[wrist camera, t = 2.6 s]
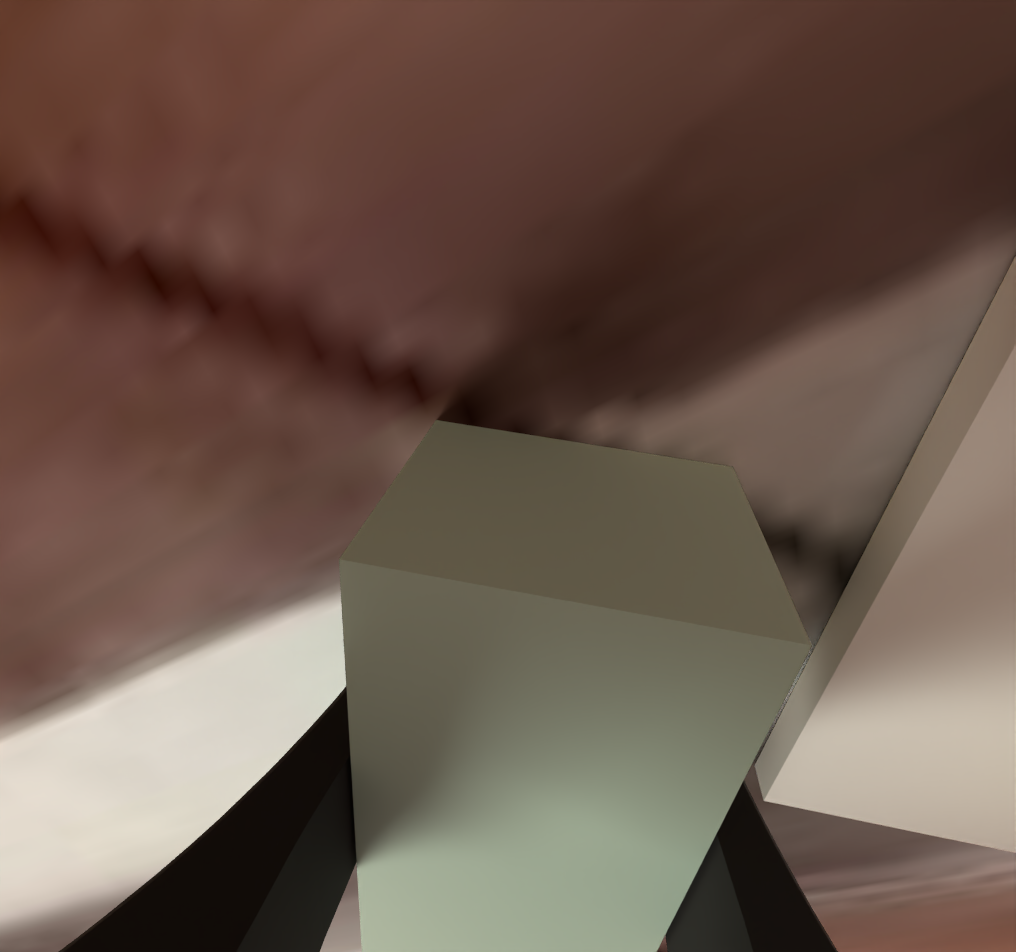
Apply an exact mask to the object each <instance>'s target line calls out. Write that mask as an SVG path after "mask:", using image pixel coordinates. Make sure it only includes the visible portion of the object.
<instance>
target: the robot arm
mask: <svg viewBox="0 0 1016 952" xmlns="http://www.w3.org/2000/svg"><path fill="white" fill-rule="evenodd" d="M356 862H357V858H356V841H355V824H354V807H353V790H352V773H351V756H350V739H349V721H348V704H347V687H345V688H344V690H343V691H342V692H341V693H340V694H339V696H338V697H337V698H336V699H335V700H334V701H333V703H332V704H331V705H330V706H329V707H328V708H327V709H326V711H325V712H324V713H323V714H322V715H321V716H320V717H319V718H318V719H317V721H316V722H315V723H314V724H313V725H312V726H311V727H310V728H309V729H308V731H307V732H306V733H305V734H304V735H303V736H302V737H301V738H300V739H299V740H298V741H297V742H296V743H295V744H294V745H293V746H292V747H291V748H290V750H289V751H288V752H287V753H286V754H285V755H284V756H283V757H282V758H281V759H280V760H279V761H278V762H277V763H276V764H275V765H274V766H273V767H272V768H271V769H270V770H269V771H268V772H267V773H266V774H265V775H264V776H263V777H262V778H261V779H260V780H259V781H258V782H257V783H256V784H255V785H254V786H253V787H252V788H251V789H250V790H249V791H248V792H247V793H246V794H245V795H244V796H243V797H242V798H241V799H240V800H239V801H237V802H236V803H235V804H234V805H233V806H232V807H231V808H230V809H229V810H228V811H227V812H226V813H225V814H224V815H223V816H222V817H221V818H220V819H219V820H218V821H216V822H215V823H214V824H213V825H212V826H211V827H210V828H209V829H208V830H207V831H205V832H204V833H203V834H202V835H201V836H200V837H199V838H198V839H197V840H195V841H194V842H193V843H192V844H191V845H190V846H189V847H188V848H186V849H185V850H184V851H183V852H182V853H181V854H179V855H178V856H177V857H176V858H175V859H174V860H172V861H171V862H170V863H169V864H168V865H167V866H166V867H164V868H163V869H162V870H161V871H160V872H159V873H157V874H156V875H155V876H154V877H153V878H151V879H150V880H149V881H148V882H146V883H145V884H144V885H143V886H141V887H140V888H139V889H138V890H137V891H135V892H134V893H133V894H132V895H130V896H129V897H128V898H127V899H125V900H124V901H123V902H122V903H121V904H119V905H118V906H117V907H116V908H114V909H113V910H112V911H111V912H109V913H108V914H107V915H106V916H104V917H103V918H102V919H101V920H99V921H98V922H97V923H96V924H94V925H93V926H92V927H90V928H89V929H88V930H87V931H85V932H84V933H83V934H81V935H80V936H79V937H78V938H76V939H75V940H74V941H72V942H71V943H70V944H68V945H67V946H66V947H64V948H63V949H62V950H60V951H59V952H320V949H321V946H322V944H323V941H324V939H325V936H326V934H327V931H328V929H329V927H330V924H331V922H332V919H333V917H334V915H335V912H336V910H337V907H338V905H339V903H340V900H341V898H342V895H343V893H344V891H345V888H346V886H347V883H348V881H349V879H350V876H351V874H352V871H353V869H354V867H355V864H356ZM666 942H667V951H668V952H838V951H837V950H836V948H835V946H834V945H833V943H832V941H831V940H830V938H829V936H828V935H827V933H826V931H825V930H824V928H823V926H822V925H821V923H820V921H819V920H818V918H817V916H816V914H815V913H814V911H813V909H812V907H811V906H810V904H809V902H808V900H807V899H806V897H805V895H804V894H803V892H802V890H801V888H800V886H799V885H798V883H797V881H796V879H795V877H794V875H793V874H792V872H791V870H790V868H789V866H788V864H787V863H786V861H785V859H784V857H783V855H782V854H781V852H780V850H779V848H778V846H777V844H776V843H775V841H774V839H773V837H772V835H771V833H770V831H769V829H768V827H767V826H766V824H765V822H764V820H763V818H762V816H761V814H760V812H759V810H758V808H757V806H756V804H755V802H754V800H753V798H752V796H751V794H750V792H749V790H748V788H747V786H746V784H745V782H744V780H743V782H742V784H741V786H740V788H739V790H738V792H737V794H736V796H735V798H734V800H733V802H732V804H731V806H730V808H729V810H728V812H727V814H726V816H725V818H724V820H723V822H722V824H721V826H720V828H719V830H718V832H717V834H716V836H715V838H714V840H713V842H712V844H711V846H710V848H709V849H708V851H707V853H706V855H705V857H704V859H703V861H702V863H701V865H700V867H699V869H698V871H697V873H696V875H695V877H694V879H693V881H692V883H691V885H690V887H689V889H688V891H687V893H686V895H685V897H684V899H683V901H682V903H681V905H680V907H679V909H678V911H677V913H676V915H675V916H674V918H673V920H672V922H671V924H670V926H669V928H668V930H667V932H666Z"/></svg>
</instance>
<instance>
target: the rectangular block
mask: <svg viewBox="0 0 1016 952" xmlns="http://www.w3.org/2000/svg"><path fill="white" fill-rule="evenodd" d="M339 568H340V585H341V602H342V619H343V636H344V653H345V670H346V687H347V704H348V721H349V739H350V756H351V773H352V790H353V807H354V824H355V841H356V858H357V875H358V892H359V909H360V927H361V944H362V952H657V950H658V948H659V946H660V944H661V942H662V940H663V938H664V936H665V934H666V932H667V930H668V928H669V926H670V924H671V922H672V920H673V918H674V916H675V915H676V913H677V911H678V909H679V907H680V905H681V903H682V901H683V899H684V897H685V895H686V893H687V891H688V889H689V887H690V885H691V883H692V881H693V879H694V877H695V875H696V873H697V871H698V869H699V867H700V865H701V863H702V861H703V859H704V857H705V855H706V853H707V851H708V849H709V848H710V846H711V844H712V842H713V840H714V838H715V836H716V834H717V832H718V830H719V828H720V826H721V824H722V822H723V820H724V818H725V816H726V814H727V812H728V810H729V808H730V806H731V804H732V802H733V800H734V798H735V796H736V794H737V792H738V790H739V788H740V786H741V784H742V782H743V780H744V779H745V777H746V775H747V773H748V771H749V769H750V767H751V765H752V763H753V761H754V759H755V757H756V755H757V753H758V751H759V749H760V747H761V745H762V743H763V741H764V739H765V737H766V735H767V733H768V731H769V729H770V727H771V725H772V723H773V721H774V719H775V717H776V715H777V713H778V711H779V710H780V708H781V706H782V704H783V702H784V700H785V698H786V696H787V694H788V692H789V690H790V688H791V686H792V684H793V682H794V680H795V678H796V676H797V674H798V672H799V670H800V668H801V666H802V664H803V662H804V660H805V658H806V656H807V654H808V652H809V650H810V648H811V646H812V644H811V642H810V640H809V638H808V635H807V633H806V631H805V629H804V626H803V624H802V622H801V619H800V617H799V615H798V613H797V610H796V608H795V606H794V604H793V601H792V599H791V597H790V595H789V592H788V590H787V588H786V586H785V583H784V581H783V579H782V577H781V574H780V572H779V570H778V568H777V565H776V563H775V561H774V559H773V556H772V554H771V552H770V550H769V547H768V545H767V543H766V540H765V538H764V536H763V534H762V531H761V529H760V527H759V525H758V522H757V520H756V518H755V516H754V513H753V511H752V509H751V507H750V504H749V502H748V500H747V498H746V495H745V493H744V491H743V489H742V486H741V484H740V482H739V480H738V477H737V475H736V473H735V471H734V468H733V467H731V466H725V465H718V464H712V463H706V462H699V461H693V460H687V459H680V458H674V457H668V456H661V455H655V454H649V453H642V452H636V451H629V450H623V449H617V448H610V447H604V446H598V445H591V444H585V443H579V442H572V441H566V440H560V439H553V438H547V437H540V436H534V435H528V434H521V433H515V432H509V431H502V430H496V429H490V428H483V427H477V426H471V425H464V424H458V423H451V422H445V421H439V420H436V421H435V423H434V424H433V425H432V427H431V428H430V430H429V431H428V433H427V434H426V435H425V437H424V438H423V440H422V441H421V443H420V444H419V446H418V447H417V448H416V450H415V451H414V453H413V454H412V456H411V457H410V458H409V460H408V461H407V463H406V464H405V466H404V467H403V468H402V470H401V471H400V473H399V474H398V476H397V477H396V478H395V480H394V481H393V483H392V484H391V486H390V487H389V488H388V490H387V491H386V493H385V494H384V496H383V497H382V498H381V500H380V501H379V503H378V504H377V506H376V507H375V508H374V510H373V511H372V513H371V514H370V516H369V517H368V518H367V520H366V521H365V523H364V524H363V526H362V527H361V529H360V530H359V531H358V533H357V534H356V536H355V537H354V539H353V540H352V541H351V543H350V544H349V546H348V547H347V549H346V550H345V551H344V553H343V554H342V556H341V557H340V559H339Z"/></svg>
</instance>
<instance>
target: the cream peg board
mask: <svg viewBox="0 0 1016 952" xmlns="http://www.w3.org/2000/svg"><path fill="white" fill-rule="evenodd" d="M755 769H756V773H757V777H758V780H759V784H760V788H761V792H762V796H763V800H764V801H767V802H772V803H777V804H782V805H787V806H792V807H796V808H801V809H806V810H811V811H816V812H821V813H825V814H830V815H835V816H840V817H845V818H850V819H854V820H859V821H864V822H869V823H874V824H879V825H883V826H888V827H893V828H898V829H903V830H908V831H912V832H917V833H922V834H927V835H932V836H937V837H941V838H946V839H951V840H956V841H961V842H966V843H970V844H975V845H980V846H985V847H990V848H995V849H999V850H1004V851H1009V852H1014V853H1016V256H1015V258H1014V260H1013V262H1012V264H1011V266H1010V268H1009V270H1008V272H1007V274H1006V275H1005V277H1004V279H1003V281H1002V283H1001V285H1000V287H999V289H998V291H997V293H996V295H995V297H994V299H993V301H992V303H991V305H990V307H989V309H988V311H987V313H986V315H985V316H984V318H983V320H982V322H981V324H980V326H979V328H978V330H977V332H976V334H975V336H974V338H973V340H972V342H971V344H970V346H969V348H968V350H967V352H966V354H965V356H964V357H963V359H962V361H961V363H960V365H959V367H958V369H957V371H956V373H955V375H954V377H953V379H952V381H951V383H950V385H949V387H948V389H947V391H946V393H945V395H944V397H943V398H942V400H941V402H940V404H939V406H938V408H937V410H936V412H935V414H934V416H933V418H932V420H931V422H930V424H929V426H928V428H927V430H926V432H925V434H924V436H923V438H922V440H921V441H920V443H919V445H918V447H917V449H916V451H915V453H914V455H913V457H912V459H911V461H910V463H909V465H908V467H907V469H906V471H905V473H904V475H903V477H902V479H901V481H900V482H899V484H898V486H897V488H896V490H895V492H894V494H893V496H892V498H891V500H890V502H889V504H888V506H887V508H886V510H885V512H884V514H883V516H882V518H881V520H880V522H879V523H878V525H877V527H876V529H875V531H874V533H873V535H872V537H871V539H870V541H869V543H868V545H867V547H866V549H865V551H864V553H863V555H862V557H861V559H860V561H859V563H858V564H857V566H856V568H855V570H854V572H853V574H852V576H851V578H850V580H849V582H848V584H847V586H846V588H845V590H844V592H843V594H842V596H841V598H840V600H839V602H838V604H837V605H836V607H835V609H834V611H833V613H832V615H831V617H830V619H829V621H828V623H827V625H826V627H825V629H824V631H823V633H822V635H821V637H820V639H819V641H818V643H817V645H816V646H815V648H814V650H813V652H812V654H811V656H810V658H809V660H808V662H807V664H806V666H805V668H804V670H803V672H802V674H801V676H800V678H799V680H798V682H797V684H796V686H795V687H794V689H793V691H792V693H791V695H790V697H789V699H788V701H787V703H786V705H785V707H784V709H783V711H782V713H781V715H780V717H779V719H778V721H777V723H776V725H775V727H774V728H773V730H772V732H771V734H770V736H769V738H768V740H767V742H766V744H765V746H764V748H763V750H762V752H761V754H760V756H759V758H758V760H757V762H756V764H755Z"/></svg>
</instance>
